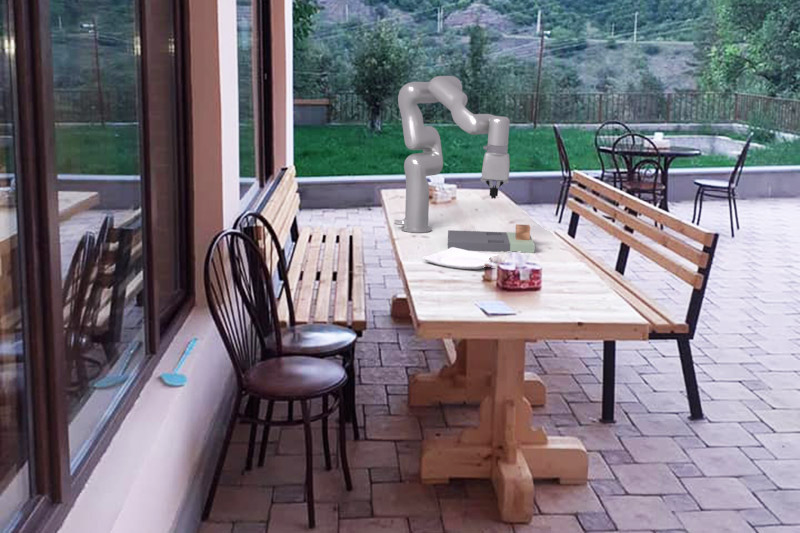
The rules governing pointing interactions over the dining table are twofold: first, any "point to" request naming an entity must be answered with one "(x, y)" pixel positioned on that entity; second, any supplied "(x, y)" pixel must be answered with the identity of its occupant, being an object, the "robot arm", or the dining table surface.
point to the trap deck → (488, 241)
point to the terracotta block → (522, 232)
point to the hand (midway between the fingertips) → (493, 197)
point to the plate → (459, 258)
